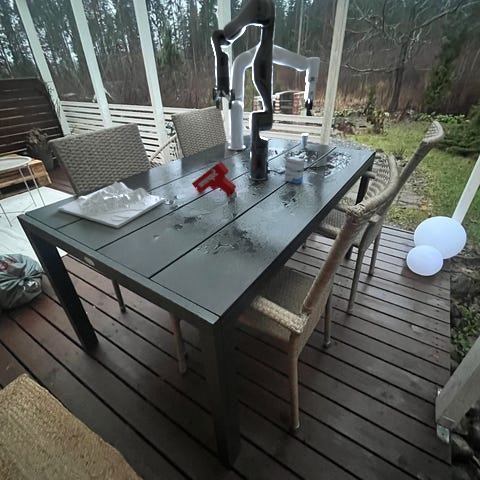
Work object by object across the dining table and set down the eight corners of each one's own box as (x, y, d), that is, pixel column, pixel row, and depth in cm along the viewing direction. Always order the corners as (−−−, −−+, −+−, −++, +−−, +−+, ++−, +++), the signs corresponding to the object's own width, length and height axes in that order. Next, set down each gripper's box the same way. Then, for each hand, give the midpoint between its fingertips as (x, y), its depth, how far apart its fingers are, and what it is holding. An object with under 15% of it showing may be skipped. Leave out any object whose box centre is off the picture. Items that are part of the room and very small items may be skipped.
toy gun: (240, 187, 127) (221, 160, 123) (237, 190, 124) (218, 163, 120) (214, 205, 137) (195, 180, 133) (210, 208, 134) (191, 183, 130)
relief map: (117, 228, 103) (114, 216, 100) (59, 210, 116) (54, 199, 113) (165, 201, 123) (163, 190, 120) (110, 188, 136) (107, 178, 134)
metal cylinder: (306, 147, 202) (308, 133, 197) (306, 149, 199) (308, 134, 193) (300, 147, 203) (302, 133, 198) (300, 148, 200) (301, 134, 194)
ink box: (302, 181, 142) (305, 159, 136) (297, 184, 139) (300, 161, 133) (289, 177, 147) (291, 156, 141) (284, 180, 144) (285, 158, 138)
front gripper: (237, 76, 145) (238, 109, 154) (216, 75, 152) (218, 107, 161) (229, 76, 140) (230, 110, 149) (208, 76, 147) (210, 109, 156)
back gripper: (303, 79, 185) (300, 107, 194) (308, 80, 170) (305, 110, 180) (314, 79, 185) (311, 107, 194) (320, 80, 170) (316, 110, 179)
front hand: (224, 109), depth 155 cm, fingers open, 8 cm apart
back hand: (308, 108), depth 187 cm, fingers open, 9 cm apart
